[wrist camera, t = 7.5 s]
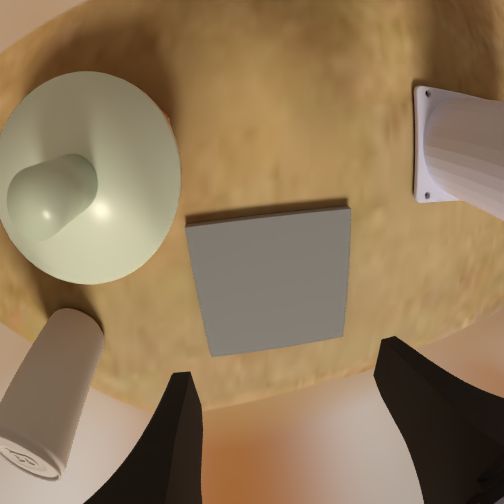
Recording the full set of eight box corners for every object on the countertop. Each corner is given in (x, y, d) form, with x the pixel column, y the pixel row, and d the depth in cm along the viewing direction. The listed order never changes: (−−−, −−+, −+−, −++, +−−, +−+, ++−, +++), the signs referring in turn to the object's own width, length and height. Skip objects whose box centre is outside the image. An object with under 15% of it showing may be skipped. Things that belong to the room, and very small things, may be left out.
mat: (347, 205, 19) (351, 208, 18) (340, 331, 23) (343, 336, 22) (186, 224, 18) (185, 227, 18) (211, 351, 22) (211, 356, 22)
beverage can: (43, 304, 19) (-31, 425, 8) (95, 302, 20) (32, 444, 9) (64, 353, 21) (16, 472, 10) (114, 353, 22) (78, 489, 11)
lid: (166, 48, 11) (146, 20, 7) (199, 262, 15) (195, 311, 11) (-12, 114, 10) (-64, 121, 7) (32, 286, 15) (-2, 329, 11)
